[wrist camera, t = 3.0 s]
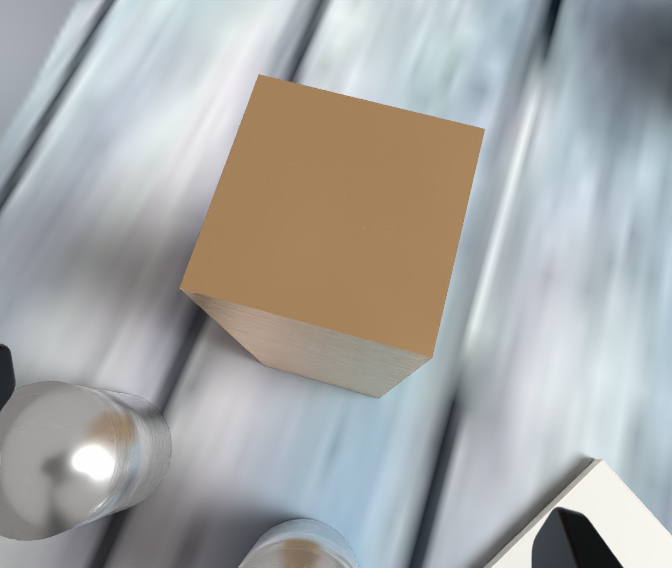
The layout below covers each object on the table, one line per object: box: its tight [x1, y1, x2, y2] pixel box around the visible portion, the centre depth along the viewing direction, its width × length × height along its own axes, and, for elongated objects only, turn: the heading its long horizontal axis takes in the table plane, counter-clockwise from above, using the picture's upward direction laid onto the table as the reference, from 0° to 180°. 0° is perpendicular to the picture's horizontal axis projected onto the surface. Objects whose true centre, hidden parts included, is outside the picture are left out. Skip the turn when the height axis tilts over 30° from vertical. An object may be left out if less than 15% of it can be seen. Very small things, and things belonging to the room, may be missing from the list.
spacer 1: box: [0, 381, 172, 541], centre depth 16 cm, size 4×4×5 cm
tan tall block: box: [179, 75, 485, 398], centre depth 15 cm, size 4×4×11 cm
